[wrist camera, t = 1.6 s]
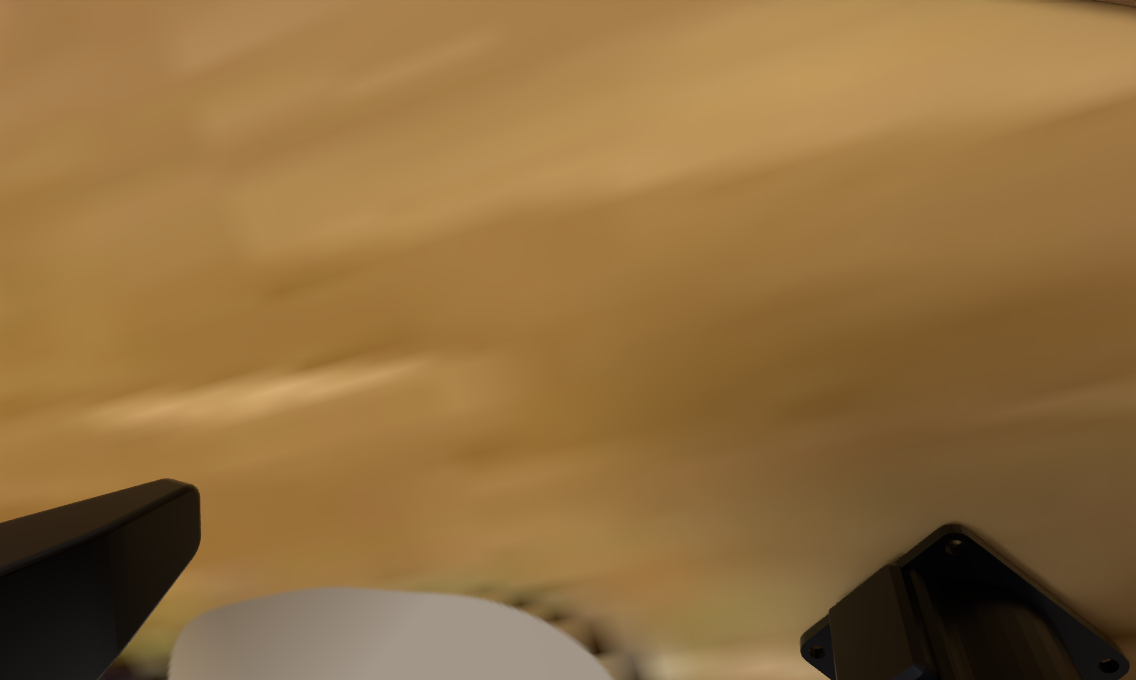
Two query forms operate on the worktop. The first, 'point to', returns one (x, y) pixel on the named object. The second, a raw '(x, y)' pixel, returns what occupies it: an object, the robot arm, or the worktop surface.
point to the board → (1121, 2)
